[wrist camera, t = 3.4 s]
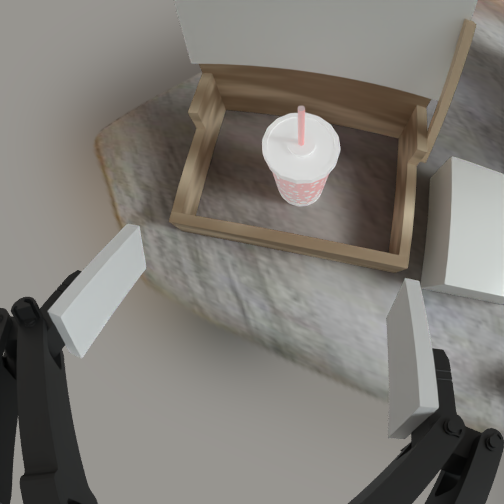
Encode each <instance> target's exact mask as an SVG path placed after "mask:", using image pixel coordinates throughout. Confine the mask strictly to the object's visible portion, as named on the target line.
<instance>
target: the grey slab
mask: <svg viewBox="0 0 504 504" xmlns="http://www.w3.org/2000/svg"><path fill="white" fill-rule="evenodd" d="M420 286H421V289H426V290H431V291H436V292H441V293H446V294H452V295H457V296H462V297H467V298H472V299H477V300H482V301H487V302H492V303H498V304H503V305H504V174H502V173H499V172H497V171H494V170H491V169H489V168H486V167H483V166H480V165H477V164H475V163H472V162H469V161H466V160H463V159H460V158H457V157H454V156H451V157H450V158H449V159H448V160H447V161H446V162H445V163H444V164H443V165H442V166H441V168H440V169H439V170H438V171H437V172H436V173H435V174H434V175H433V176H432V177H431V178H430V190H429V208H428V222H427V234H426V244H425V253H424V261H423V269H422V276H421V283H420Z"/></svg>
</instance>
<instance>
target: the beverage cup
mask: <svg viewBox="0 0 504 504" xmlns="http://www.w3.org/2000/svg"><path fill="white" fill-rule="evenodd" d="M340 150H341V149H340V143H339V136H338V135H337V133H336V132H335V130H334V129H333V127H332V126H331V124H329V123H328V122H326V121H325V120H324V119H322V118H321V117H319V116H316V115H313V114H309V113H306V112H305V107H304V106H299V107H298V113H290V114H287V115H285V116H282V117H280V118H277V119H276V120H275V121H274V122H273V123H272V124H271V125H270V126H269V127H268V128H267V130H266V132H265V134H264V137H263V139H262V151H263V156H264V159H265V161H266V163H267V164H268V166H269V168H270V170H271V171H272V173H273V175H274V178H275V181H276V184H277V187H278V190H279V192H280V194H281V196H282V198H283V199H285V200H286V201H287V202H288V203H289V204H292V205H295V206H307V205H309V204H312V203H314V202H315V201H316V200H317V199H318V198H319V197H320V195H321V192H322V190H323V188H324V185H325V183H326V180H327V178H328V175H329V173H330V172H331V171H332V170H333V169H334V167H335V165H336V163H337V160H338V157H339V153H340Z"/></svg>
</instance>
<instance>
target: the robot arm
mask: <svg viewBox="0 0 504 504" xmlns="http://www.w3.org/2000/svg"><path fill="white" fill-rule="evenodd" d="M145 269H146V262H145V256H144V250H143V244H142V238H141V232H140V226H138V225H132V224H126V225H125V226H124V227H123V228H122V229H121V230H120V232H119V233H118V234H117V235H116V236H115V237H114V238H113V239H112V240H111V241H110V242H109V243H108V244H107V245H106V246H105V247H104V248H103V249H102V250H101V251H100V252H99V253H98V254H97V256H96V257H95V258H94V259H93V260H92V261H91V262H90V263H89V264H88V265H87V266H86V267H85V269H84V270H83V271H79V270H77V271H76V272H74V273H72V274H71V275H69V276H68V277H67V278H66V279H65V280H64V282H63V283H62V285H60V286H59V287H58V288H57V290H56V291H55V292H54V293H53V294H52V295H51V296H50V297H49V299H48V300H47V301H46V302H45V303H44V304H43V306H42V307H41V308H40V309H39V307H38V305H37V303H36V301H35V300H34V299H33V298H31V297H23V298H21V299H19V300H18V301H17V302H15V303H14V305H13V306H12V309H11V312H12V314H13V316H14V317H11V316H10V315H9V313H8V312H7V310H6V309H4V308H0V504H10V500H11V492H12V472H13V457H14V445H15V435H16V427H17V418H19V429H20V439H21V447H22V454H23V461H24V468H25V473H24V475H23V476H21V478H20V489H21V493H22V499H23V503H24V504H98V503H97V500H96V498H95V496H94V495H93V493H92V492H91V490H90V488H89V486H88V483H87V480H86V476H85V473H84V469H83V465H82V461H81V457H80V453H79V449H78V444H77V440H76V435H75V430H74V425H73V420H72V414H71V408H70V402H69V396H68V388H67V381H66V373H65V364H64V355H63V351H62V348H63V347H64V346H66V347H67V349H68V351H69V353H71V354H73V355H76V356H78V357H80V358H83V356H84V355H85V353H86V352H87V350H88V349H89V347H90V346H91V344H92V343H93V341H94V340H95V338H96V337H97V336H98V334H99V333H100V331H101V330H102V328H103V327H104V325H105V324H106V323H107V321H108V320H109V318H110V317H111V316H112V314H113V313H114V311H115V310H116V308H117V307H118V305H119V304H120V303H121V301H122V300H123V299H124V297H125V296H126V295H127V293H128V292H129V291H130V289H131V288H132V286H133V285H134V284H135V282H136V281H137V280H138V278H139V277H140V276H141V274H142V273H143V272H144V270H145ZM386 322H387V339H388V365H389V423H388V438H398V439H405V438H407V437H408V436H409V435H410V434H411V438H412V439H411V440H412V441H411V443H409V444H408V445H407V446H406V447H404V448H403V449H402V450H401V451H402V452H401V453H400V454H399V455H398V456H397V457H396V458H395V460H393V461H392V463H391V464H390V465H389V466H388V467H387V468H386V469H385V470H384V471H383V472H382V473H381V474H380V475H379V476H378V477H377V478H376V479H374V480H373V481H372V482H371V483H370V484H369V485H368V486H367V487H366V488H365V489H364V490H363V491H362V492H361V493H359V494H358V495H357V496H356V497H355V498H354V499H353V500H351V501H350V502H349V503H348V504H412V503H413V502H414V501H415V500H416V498H417V497H418V496H419V495H420V494H421V493H422V491H423V490H424V489H425V488H426V487H427V485H428V484H429V483H430V482H431V481H432V479H433V478H434V477H435V476H436V474H437V473H438V472H439V470H440V469H441V472H440V474H439V476H438V478H437V481H436V483H435V485H434V487H433V489H432V491H431V493H430V495H429V497H428V498H427V500H426V502H425V504H485V503H486V500H487V498H488V495H489V492H490V490H491V487H492V484H493V481H494V478H495V475H496V472H497V469H498V466H499V462H500V459H501V456H502V452H503V448H504V440H503V437H502V435H501V433H500V432H499V431H497V430H496V429H493V428H490V429H486V430H485V431H484V432H483V433H480V432H478V431H475V430H473V429H470V428H468V427H466V426H465V424H464V422H463V420H462V419H461V417H460V416H459V415H457V413H456V407H455V398H454V390H453V383H452V376H451V373H450V371H451V369H450V363H449V359H448V357H447V355H446V354H445V352H444V350H441V349H433V348H432V344H431V338H430V332H429V326H428V320H427V315H426V310H425V305H424V300H423V295H422V290H421V286H420V281H418V280H413V279H408V278H405V279H404V281H403V284H402V286H401V288H400V290H399V292H398V295H397V297H396V299H395V301H394V303H393V305H392V308H391V310H390V312H389V314H388V316H387V318H386ZM4 352H5V353H4ZM3 353H4V355H3ZM18 416H19V417H18Z"/></svg>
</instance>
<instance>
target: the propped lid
mask: <svg viewBox="0 0 504 504" xmlns="http://www.w3.org/2000/svg"><path fill="white" fill-rule="evenodd" d="M477 1H478V0H174V4H175V7H176V11H177V15H178V18H179V22H180V26H181V29H182V33H183V36H184V40H185V43H186V47H187V51H188V54H189V58H190V61H191V63H192V64H231V65H249V66H262V67H273V68H283V69H292V70H300V71H307V72H314V73H321V74H327V75H333V76H338V77H344V78H349V79H354V80H359V81H364V82H368V83H373V84H377V85H381V86H386V87H390V88H394V89H398V90H401V91H405V92H409V93H412V94H416V95H419V96H423V97H426V98H429V99H432V100H436V101H438V104H437V107H436V109H435V112H434V115H433V117H432V120H431V123H430V125H429V128H428V131H427V153H426V155H425V156H424V157H423V158H422V160H421V161H420V162H424V163H426V161H427V159H428V157H429V154H430V152H431V150H432V148H433V145H434V143H435V141H436V138H437V136H438V133H439V131H440V129H441V126H442V124H443V121H444V119H445V116H446V114H447V111H448V109H449V106H450V103H451V101H452V98H453V95H454V93H455V90H456V87H457V84H458V82H459V79H460V76H461V73H462V70H463V67H464V64H465V61H466V58H467V55H468V52H469V48H470V45H471V42H472V38H473V35H474V32H475V28H476V24H475V23H474V22H473V21H471V19H472V16H473V13H474V10H475V7H476V4H477Z"/></svg>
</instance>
